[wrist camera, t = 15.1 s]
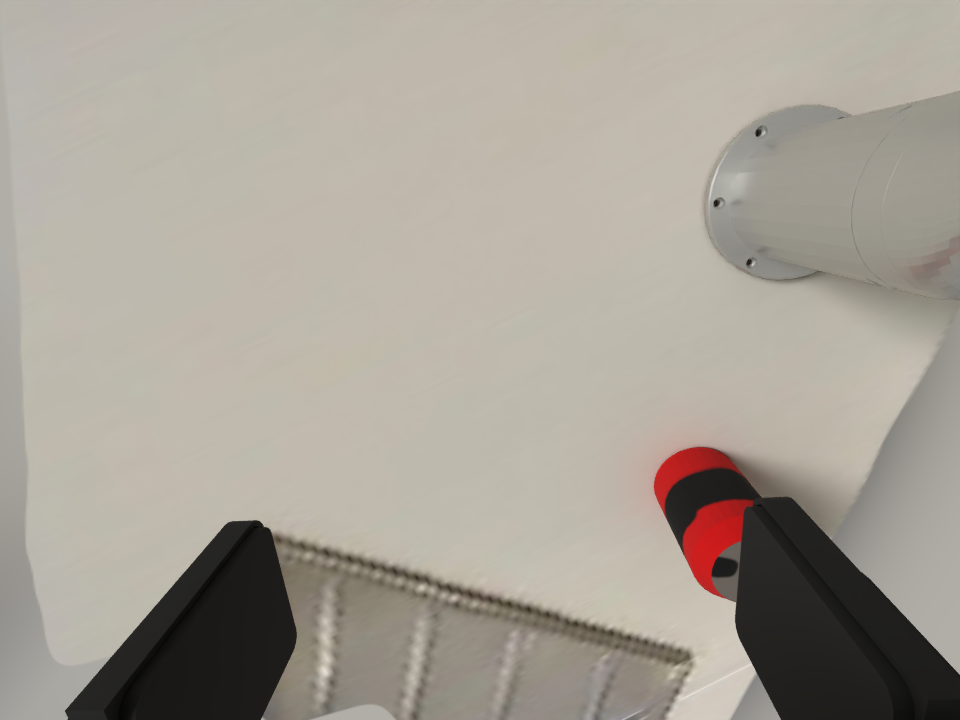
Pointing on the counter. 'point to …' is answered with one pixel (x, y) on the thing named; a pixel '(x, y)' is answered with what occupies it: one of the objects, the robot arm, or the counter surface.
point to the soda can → (706, 514)
